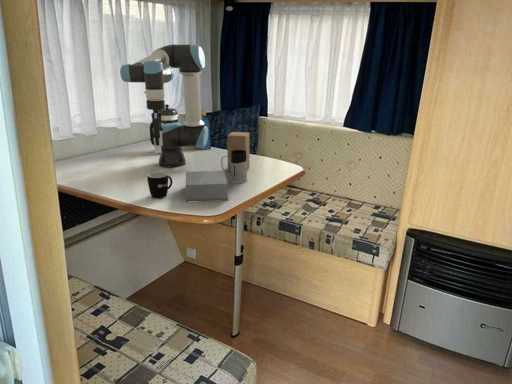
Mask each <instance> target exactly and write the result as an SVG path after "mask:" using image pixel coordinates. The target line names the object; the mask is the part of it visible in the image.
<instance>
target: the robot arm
mask: <svg viewBox="0 0 512 384" xmlns="http://www.w3.org/2000/svg"><path fill="white" fill-rule="evenodd" d="M205 67H206V56H205V52H204V50H203V48H202V47H201V46H200V45H198V44H193V43H191V44H173V43H172V44H168V45H164V46H161V47H159V48H156V49H155V50H153V51H152V53H151V54H149V55H148V56H146V57H144V58H142V59H141V60H139V61H136V62H134V63H132V64H129V63H127V64H122V65H121V66H120V70H119V75H120V78H121V80H122V81H123V82H125V83H144V86H145V88H144V89H145V90H144V92H143V93H144V94H145V98H146V101H145V102H146V109H147V110H150V111H151V110H152V113H151V114H150V115H151V122H152V123H153V136H152V138H154V145H153V146H154V147H153V148H154V153H155V154H160V155H159V159H158V166H160V167H162V168H177V167H182V166H183V167H184V166H186V163H187V162H186V161H187V160H186V157H185V154H184V152H183V148H197V147H204V146H205V145H206V143H207V139H208V127H206V126H205V125H204V122H203V121H202V120H201V110H202V106H201V105H202V103H201V88H200V87H201V85H200V82H201V81H200V74H202V72H203V69H205ZM173 69H179V72H178V73H179V74H181V75H182V84H183V99H184V115H185V116H184V117H185V120H184V122H183V123H182V124H181V122H178V123H168V124H164V125H162V126H161V113H160V110H162V109H165V108H166V107H165V105H166V102H165V87H164V84H168V83H170V82H171V81H172V80H173V78H174V77H175V73H174V70H173ZM197 149H198V148H197Z"/></svg>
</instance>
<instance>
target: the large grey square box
mask: <svg viewBox="0 0 512 384" xmlns="http://www.w3.org/2000/svg"><path fill="white" fill-rule="evenodd" d="M228 185H229V184H228V181H227V177H226V172H225V171H224V170H207V171H205V170H204V171H202V170H201V171H200V170H199V171H185V203H189V202H188V201H199V202H217V201H216V200H222V201H229V194H228V192H229V191H228V187H229V186H228ZM213 200H214V201H213Z"/></svg>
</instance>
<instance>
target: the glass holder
mask: <svg viewBox="0 0 512 384" xmlns="http://www.w3.org/2000/svg"><path fill="white" fill-rule="evenodd" d="M224 158H227V161H228V160H229V163H230V159H229V157H228V155H224V156H222V157H221V160H220V165H221V167H222V171H224V173H225V174H227V175H229V176H230V183H234V184H244V183H247V182H248V180H249V179H248V178H247V177H248V176H247V175H248V173H247V171H248V170H247V156H246V151H245V150H233V151H231V163H230V164H231V172H230V173H229V172H228V171H227V170H226V169H225V168H224V164H223V159H224Z"/></svg>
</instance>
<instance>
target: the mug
mask: <svg viewBox="0 0 512 384" xmlns="http://www.w3.org/2000/svg"><path fill="white" fill-rule="evenodd" d="M146 177H147V184H148V185H147V186H148V189H149V193H150V196H151V197H152V199H156V198H160V199H164V198H166V197H167V195H168V191H169V189H171V187H172V185H173V179H172V177H171V176H169V174H168V173H167V172H163V171H155V172H151V173H148V174H147V175H146ZM169 181H170V182H169ZM163 197H164V198H163Z"/></svg>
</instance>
